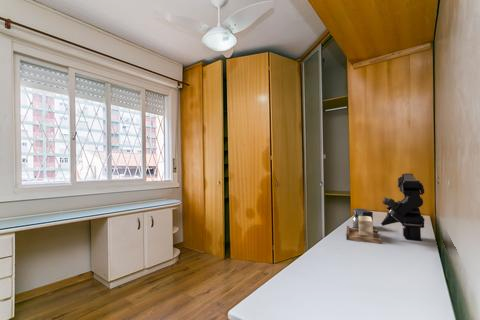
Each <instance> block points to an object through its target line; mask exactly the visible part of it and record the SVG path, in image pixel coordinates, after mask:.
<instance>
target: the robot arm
mask: <svg viewBox="0 0 480 320" xmlns="http://www.w3.org/2000/svg"><path fill="white" fill-rule="evenodd" d="M397 188H399V191H400V192H401V193H402V195H403V198H402V199H401V200H398V201H395V199H393V198H388V197H385V196H384V197H383V200H382V201H381V203H382V205H385V206H386V207H385V208H386V209H387V210H386V216H385V218H384V219H383V220H382V222H381V223H380V225H381V226H388V225H391V224H396V223H400V224H401V226H402V236H403V237H404V239H405V240H409V241H410V240H411V241H419V242H422V241H423V239H422V233H421V229H424V228H425V218H424V215H422V214H421V210H420V207H422V206H423V204H424V200H423V198H422V197H421V196H423V195H424V194H425V188H424V185H423V183H422V182H421V181H420V180H419V179H416V177H414V173H402V174H401V176H400V177H398V178H397Z"/></svg>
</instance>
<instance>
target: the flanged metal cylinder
mask: <svg viewBox="0 0 480 320" xmlns="http://www.w3.org/2000/svg"><path fill="white" fill-rule="evenodd" d="M351 228H358V229H359V219H358V217H357V212H355V217H354V216H352V227H351Z"/></svg>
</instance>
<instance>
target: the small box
mask: <svg viewBox="0 0 480 320" xmlns="http://www.w3.org/2000/svg"><path fill="white" fill-rule="evenodd" d="M355 212H357V217H358V216H369V217H371V218H372V221H373V222H374V216H373V214H374V213H373V211H371V210H367V209H365V208H353V217H355Z"/></svg>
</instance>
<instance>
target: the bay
mask: <svg viewBox="0 0 480 320" xmlns="http://www.w3.org/2000/svg"><path fill="white" fill-rule="evenodd" d="M378 231H379V230H378V229H373V238H369V237H360V236H359V229H358V228H352V227H350V225H346V232H345V233H346V235H345V237H346V240H347V241H352V242H353V241H354V242H355V241H356V242H362V243H371V244H382V239H381V238H380V236H379V232H378Z"/></svg>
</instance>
